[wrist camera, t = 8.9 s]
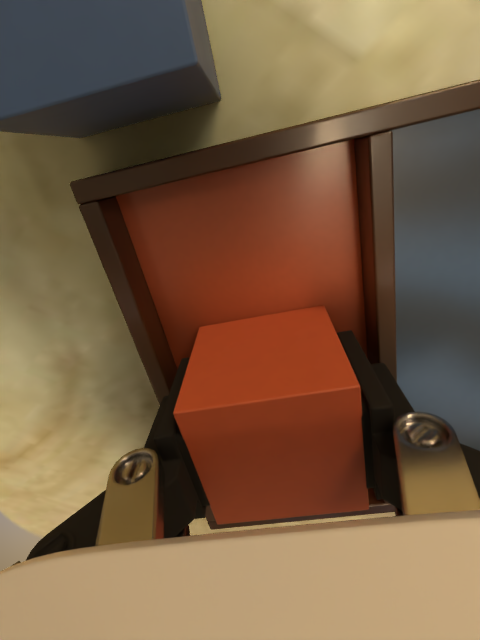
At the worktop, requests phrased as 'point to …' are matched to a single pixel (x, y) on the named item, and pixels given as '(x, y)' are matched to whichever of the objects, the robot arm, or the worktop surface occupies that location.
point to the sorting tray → (313, 245)
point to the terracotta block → (274, 418)
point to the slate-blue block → (101, 64)
